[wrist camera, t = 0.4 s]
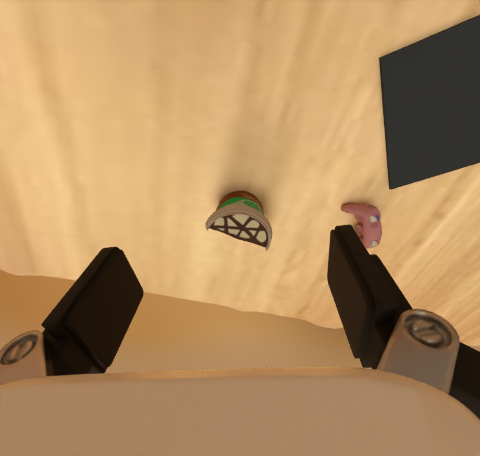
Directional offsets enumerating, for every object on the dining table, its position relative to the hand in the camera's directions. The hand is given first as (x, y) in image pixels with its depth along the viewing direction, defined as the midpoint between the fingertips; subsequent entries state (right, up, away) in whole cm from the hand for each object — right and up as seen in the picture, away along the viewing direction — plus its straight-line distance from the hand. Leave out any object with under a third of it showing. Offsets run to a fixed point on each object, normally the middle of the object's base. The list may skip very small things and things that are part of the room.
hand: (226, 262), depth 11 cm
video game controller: (+25, +3, +40) cm, 47 cm away
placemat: (+33, +20, +28) cm, 48 cm away
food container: (+2, +7, +38) cm, 39 cm away
